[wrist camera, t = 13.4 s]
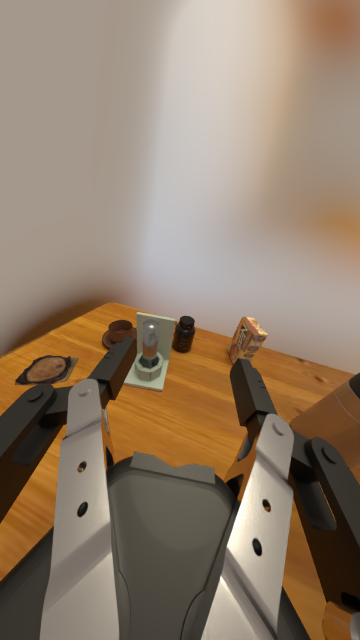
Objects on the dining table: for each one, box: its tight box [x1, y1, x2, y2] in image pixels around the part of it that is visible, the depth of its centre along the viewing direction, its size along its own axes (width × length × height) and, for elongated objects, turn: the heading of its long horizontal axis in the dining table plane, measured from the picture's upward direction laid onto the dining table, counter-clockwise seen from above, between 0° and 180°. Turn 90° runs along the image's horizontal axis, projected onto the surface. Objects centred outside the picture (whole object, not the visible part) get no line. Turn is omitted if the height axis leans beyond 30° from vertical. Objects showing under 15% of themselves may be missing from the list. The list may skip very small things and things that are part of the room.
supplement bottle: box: [173, 316, 195, 353], centre depth 47 cm, size 7×7×12 cm
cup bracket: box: [124, 312, 176, 392], centre depth 35 cm, size 10×10×16 cm
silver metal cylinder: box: [143, 320, 159, 369], centre depth 34 cm, size 4×4×16 cm
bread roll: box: [15, 355, 78, 385], centre depth 35 cm, size 11×9×4 cm
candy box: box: [227, 317, 268, 365], centre depth 45 cm, size 9×4×15 cm, turn 1°
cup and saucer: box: [102, 320, 137, 348], centre depth 47 cm, size 12×12×6 cm
